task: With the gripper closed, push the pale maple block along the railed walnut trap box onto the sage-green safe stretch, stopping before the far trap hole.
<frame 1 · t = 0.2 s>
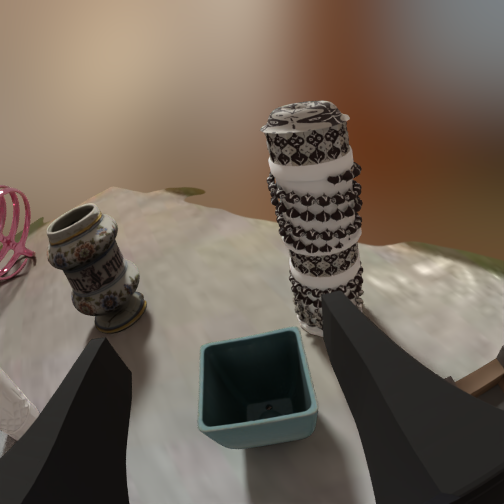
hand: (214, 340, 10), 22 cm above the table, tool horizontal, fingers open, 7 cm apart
black and white cylinder: (330, 312, 39), on the table
white cup: (25, 423, 30), on the table
apothecary jar: (120, 313, 48), on the table
pink slatted sphere: (16, 267, 77), on the table
flower pot: (272, 423, 28), on the table
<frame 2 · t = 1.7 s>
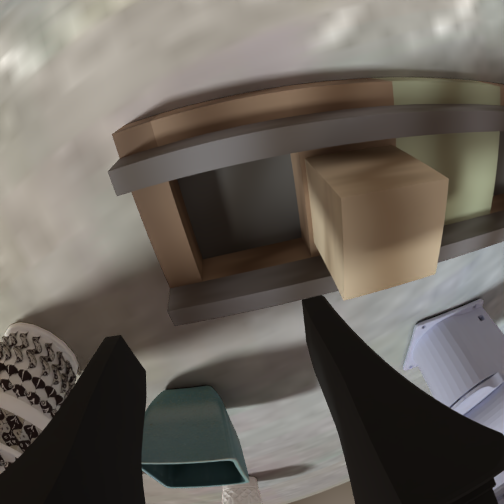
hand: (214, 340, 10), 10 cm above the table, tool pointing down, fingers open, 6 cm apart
black and white cylinder: (40, 351, 24), on the table
white cup: (239, 479, 49), on the table
maple block: (353, 194, 16), point 2 cm above the table, touching trap box
trap box: (390, 169, 18), on the table
flower pot: (193, 396, 30), on the table
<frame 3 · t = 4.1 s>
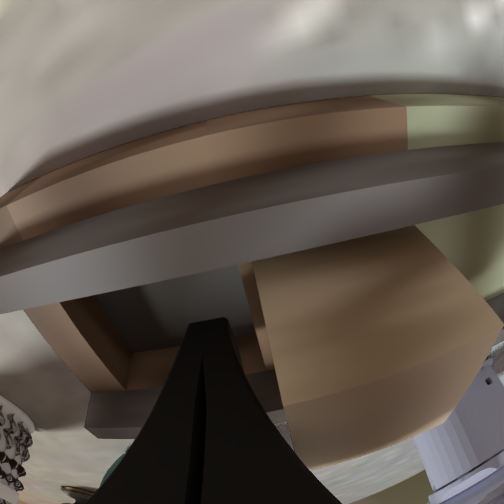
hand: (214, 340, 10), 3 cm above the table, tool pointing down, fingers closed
maple block: (334, 293, 11), point 3 cm above the table, touching gripper
trap box: (392, 236, 13), on the table
apothecary jar: (87, 493, 36), on the table
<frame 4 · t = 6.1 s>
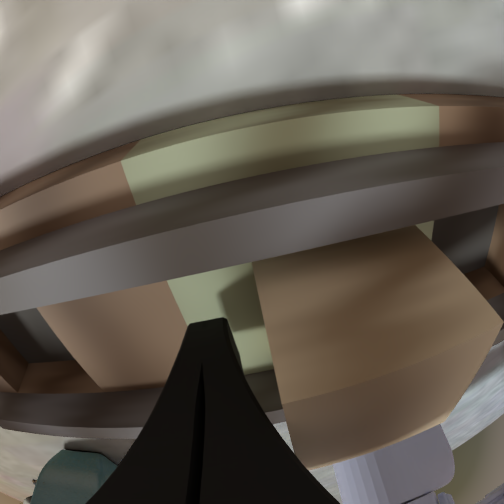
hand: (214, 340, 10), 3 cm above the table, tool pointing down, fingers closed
maple block: (334, 292, 10), point 3 cm above the table, touching gripper, trap box
trap box: (213, 276, 13), on the table
flower pot: (93, 457, 24), on the table
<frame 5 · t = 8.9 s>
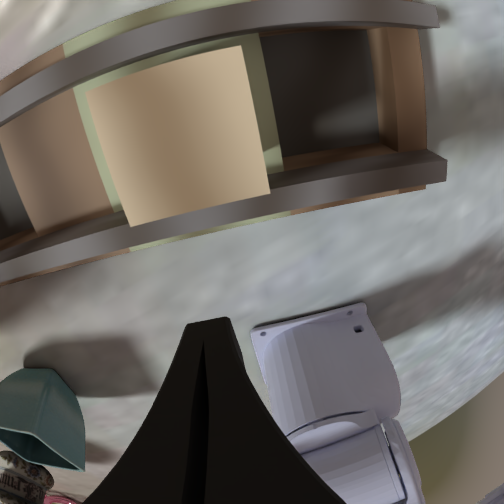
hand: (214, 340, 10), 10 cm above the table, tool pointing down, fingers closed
maple block: (190, 118, 13), point 2 cm above the table, touching trap box
trap box: (122, 135, 16), on the table
apothecary jar: (30, 445, 38), on the table
pink slatted sphere: (59, 496, 65), on the table
flower pot: (49, 379, 27), on the table
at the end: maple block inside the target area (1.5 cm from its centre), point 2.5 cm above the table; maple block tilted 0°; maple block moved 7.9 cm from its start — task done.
